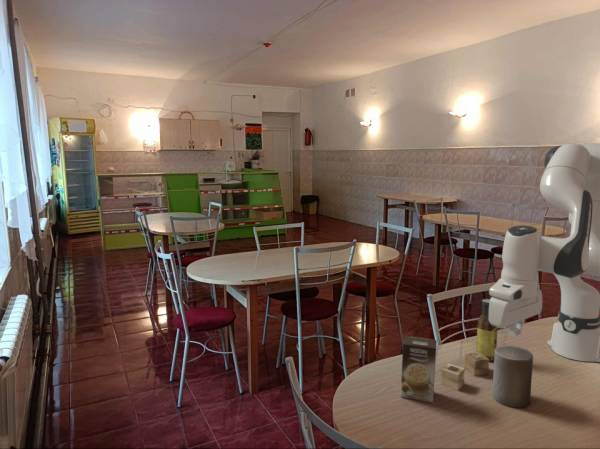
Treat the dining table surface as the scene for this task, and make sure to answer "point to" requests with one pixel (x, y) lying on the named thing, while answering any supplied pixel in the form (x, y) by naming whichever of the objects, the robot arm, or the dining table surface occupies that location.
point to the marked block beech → (452, 376)
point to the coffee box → (418, 368)
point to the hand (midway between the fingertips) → (515, 335)
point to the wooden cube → (476, 364)
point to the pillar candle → (512, 376)
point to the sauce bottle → (486, 333)
